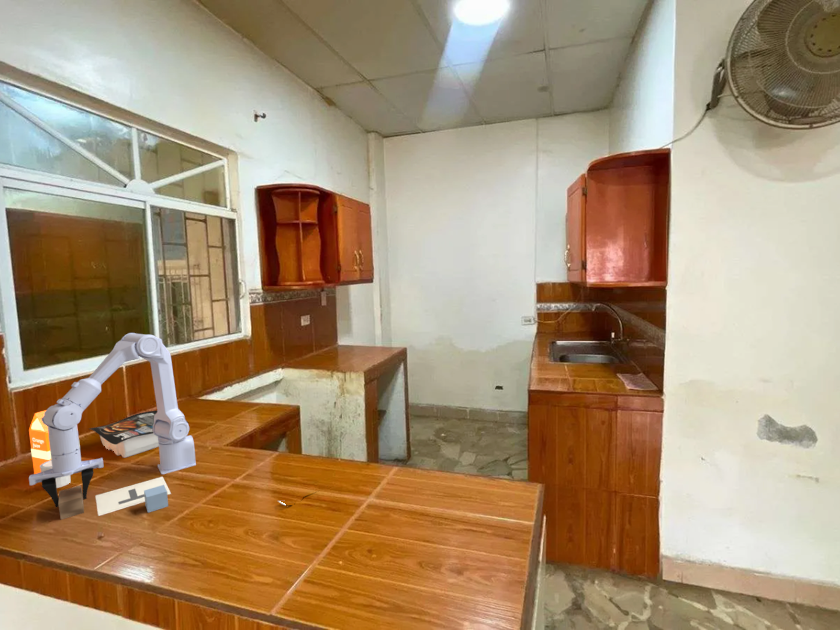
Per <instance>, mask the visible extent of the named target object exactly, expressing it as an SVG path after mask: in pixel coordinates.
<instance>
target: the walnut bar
mask: <svg viewBox="0 0 840 630" xmlns="http://www.w3.org/2000/svg"><path fill="white" fill-rule="evenodd" d="M58 498H59V503H58V505H59V507H58V510H59V516H60V520H61V521H62V520H65V519H67V518H71V517H75V516H77V515H81V514H84V513H85V510H84V508H85V507H84V500H83V488H82V485H80V484H79V485H76V486H72V487H70V488H66V489H62V490H59V491H58Z"/></svg>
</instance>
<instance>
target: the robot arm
mask: <svg viewBox="0 0 840 630" xmlns="http://www.w3.org/2000/svg"><path fill="white" fill-rule="evenodd" d="M140 358H142V359H143V360H146V361H148V362H149V363H150V368H151V369H150V370H151V376H152V381H153V389H154V397H155V402H156V409H157V410H156V411H157V413H156V414H155V416H154V425H153V433H154V434H155V435H156V436H158V442H159V447H158V452H159V461H160V462H159V463H160V464H159V463H158V464H157V468H158V470H159V472H160V475H165V474H169V473H173V472H178V471H180V470H183V469H187V468H190V467H195V466H196V465H197V463H196V451H195V442H194V438H193V435H188V434H189V431H190V426H189V422H188V421H187V420H186V417H185V415H184V413H183V411H181V410H180V408H179V405H178V399H177V391H176V385H175V377H174V370H173V363H172V355H171V351H170V350H169V349H167V347H166V346H165V345H164V343H163V339H162V338H160V337H157V336H156V335H153V334H143V333H137V332H136V333H135V332H128V333H127V334H124V336H122V337H121V339H120V340H119V341H117V342H116V343H115V345H114V347H113V349H112V350H111V351H110V352H109V354H108V355H107V356H106V357H105V358H104V359H103V361H102V362H101V363H100V364H99V365H98V367H96V369H95V370H94V371H93V372H92V373H91V374H90V375H89V376H88V377H86V378H82V379H79V380H78V381H74V382H73V383H72V384H71V385H70V386H71V388H70V389H69V390H68V392H66V394H65V395H63V397H61V398H59V399H58V400H57V401H56V403H55V404H54V405H51V406H49V407H48V408H47V409H45V410H46V411H45V410H44V411H45V413H44V416H43V418H42V422H43V423H44V424H45V425H46V426H48V433H49V444H50V452H51V460H52V469H49V470H46V471H43V472H40V473H37V474H34V473H33V474H30V475H29V477H28V482H29V486H34V485H36V484H38V483H41V487H42V488H43V490H44V491H45V492H46V493H47V494H48V495H49V497H50V498H51V500H52V502H53V503H54V507H55V508H59V505H58V503H59V493H58V490H57V489H58V488H56V478H58V477H62V476H68V475H71V476H72V475H73V474H78V473H80V476H81V483H82V495H83V501H84V500H86V499H88V498H87V497H88V496H87V495H88V490H89V489H88V488H89V486H90V483H91V481H92V478H93V476H94V469H97V468H98V469H102V468H104V460H103V459H104V458H103V457H100V458H96V459H89V460H82V455H81V454H82V453H81V445H80V446H79V444H80V439H79V430H78V429H77V427H78V424H79V423H80V422H81V420H82V415H83V412H84V411H85V410H86V409H87V408H88V407H89V406H90V405H91V403H92V402H93V401H94V400H95V399H96V398H97V397H98V395H100V393H102V385H103V383H105V381H107V380H108V379H109V378H110V377H111V376H112V375H113V374H114V373H115V372H116V371H117V370H118V369H119V368H120V367H121V366H122V365H123V364H124V363H126V362H131V361H134V360H139V359H140ZM186 421H187V422H188V423H187V422H186Z"/></svg>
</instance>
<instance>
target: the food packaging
mask: <svg viewBox="0 0 840 630" xmlns="http://www.w3.org/2000/svg"><path fill="white" fill-rule="evenodd" d="M156 413H157V410H151V411H144V412H139V413H136V414H132V415H129V416H128V417H127V416H126V417H125V418H123V419H120V420H118V421H116V422H112V423H109V424H106V425H101V426H97V427H91V428H90V427H89V428H88V430H92V431H93V432H95V433H97V434H98V435H99V437H100V441H101V443H102V445H103V447H104V446H105V449H106V450H107V449H108V450H107V451H110V450H111V451H112V452H113V451H114V452H113V453H114V454H115V455H116V456H121V457H122V458H129V457H131V456H135V455H137V454H141V453H145V452H147V451H149V450H153V449H155V448H159V442H158V436H156V435H155V434H154V433H153V425H154V416H155V414H156ZM186 422H187V423H188V424H189V422H188V421H187V420H186Z"/></svg>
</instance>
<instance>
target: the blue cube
mask: <svg viewBox="0 0 840 630" xmlns="http://www.w3.org/2000/svg"><path fill="white" fill-rule="evenodd" d="M144 495H145V502H144V503H145V507H146V511H147V513H148V514H149V513H151V512H155V511H158V510H160V509H164V508H167V507H169V500H168V495H167V490H166V488H165V486H164V485H162V486H158V487H155V488H151V489H148V490H145V491H144Z"/></svg>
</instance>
